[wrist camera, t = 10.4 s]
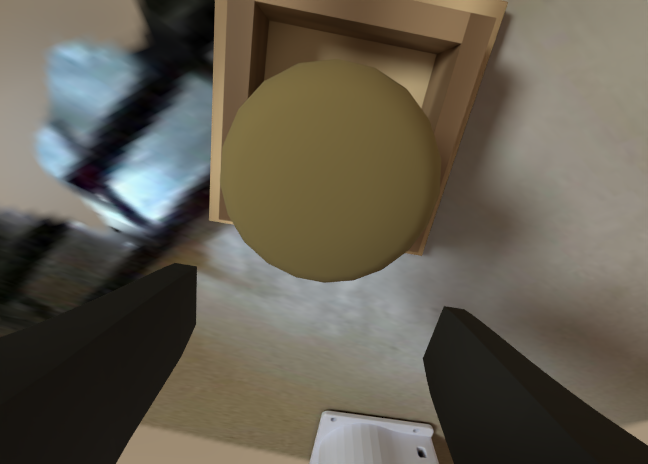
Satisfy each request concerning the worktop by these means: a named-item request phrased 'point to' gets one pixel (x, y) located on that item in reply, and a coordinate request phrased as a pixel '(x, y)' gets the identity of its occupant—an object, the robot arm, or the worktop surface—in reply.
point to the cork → (330, 170)
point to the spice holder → (356, 60)
